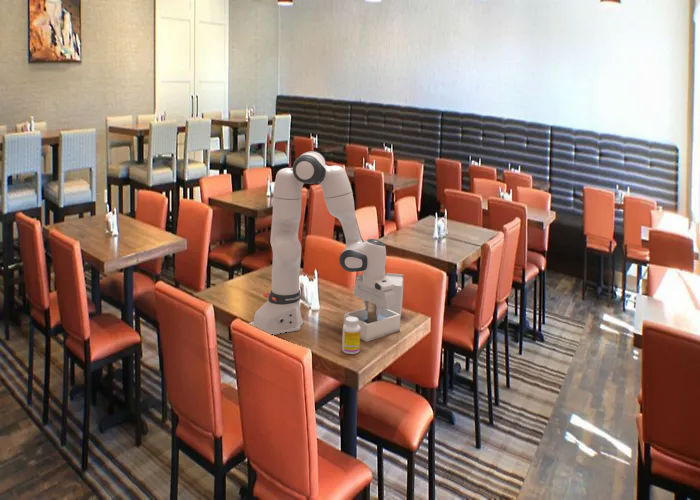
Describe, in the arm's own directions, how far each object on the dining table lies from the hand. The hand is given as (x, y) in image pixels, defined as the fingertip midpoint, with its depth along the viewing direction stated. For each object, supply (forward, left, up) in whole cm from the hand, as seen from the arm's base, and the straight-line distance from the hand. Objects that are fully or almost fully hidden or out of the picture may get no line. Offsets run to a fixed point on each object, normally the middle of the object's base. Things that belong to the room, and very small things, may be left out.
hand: (372, 312), depth 234 cm
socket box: (0, 0, -8) cm, 8 cm away
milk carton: (+18, +6, -8) cm, 21 cm away
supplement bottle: (-19, -10, -8) cm, 23 cm away
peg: (0, 0, -5) cm, 5 cm away
